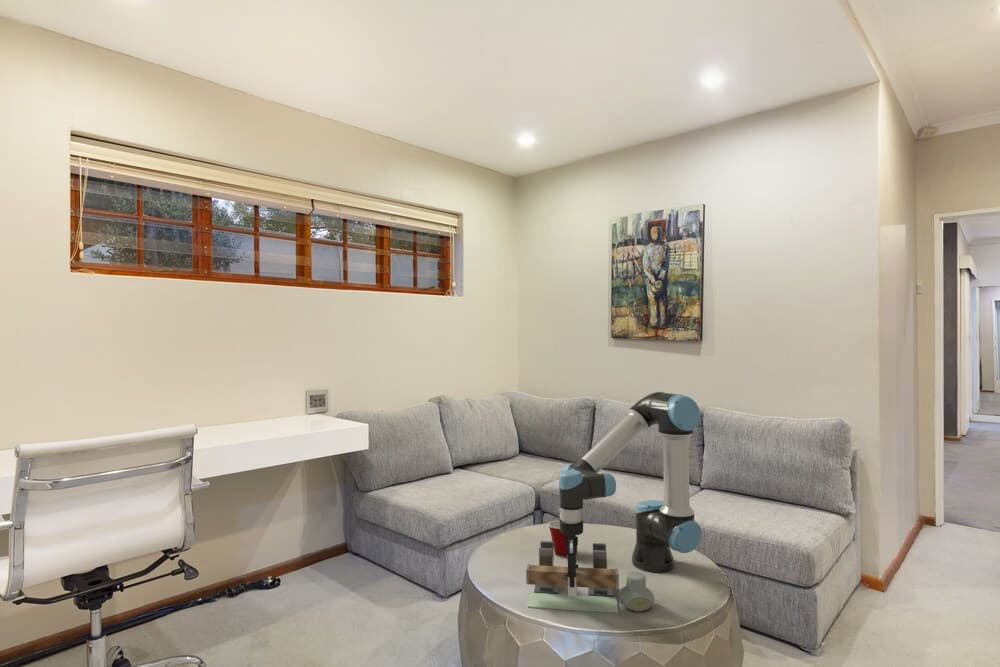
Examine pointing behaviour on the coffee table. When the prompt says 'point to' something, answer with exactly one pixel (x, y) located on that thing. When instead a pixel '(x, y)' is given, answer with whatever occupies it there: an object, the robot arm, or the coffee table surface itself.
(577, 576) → the rail
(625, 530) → the coffee table surface
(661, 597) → the coffee table surface
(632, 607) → the air freshener
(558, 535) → the plastic cup
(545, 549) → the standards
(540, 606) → the mat
